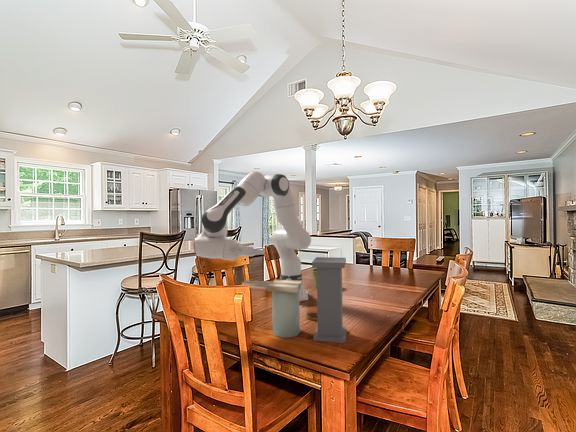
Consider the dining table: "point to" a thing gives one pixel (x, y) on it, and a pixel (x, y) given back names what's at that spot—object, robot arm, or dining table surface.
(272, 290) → the cutting board
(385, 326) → the dining table surface
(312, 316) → the burger
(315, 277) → the plant pot
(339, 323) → the plinth
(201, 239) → the robot arm
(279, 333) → the crock
